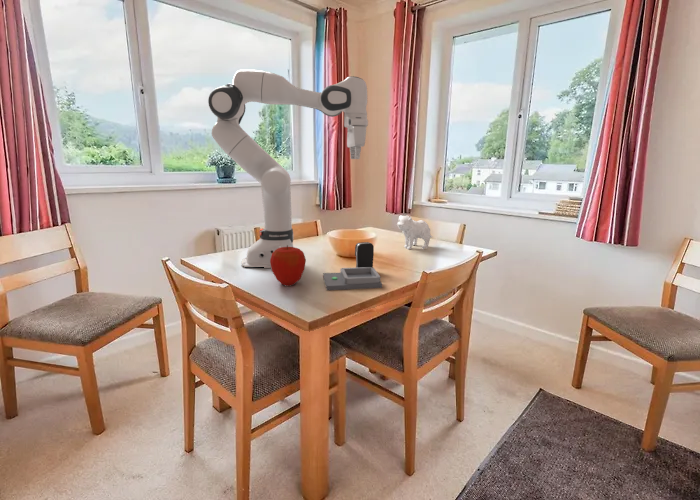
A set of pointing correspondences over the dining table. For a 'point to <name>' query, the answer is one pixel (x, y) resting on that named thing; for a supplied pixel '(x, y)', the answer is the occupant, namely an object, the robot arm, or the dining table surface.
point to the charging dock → (353, 279)
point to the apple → (288, 264)
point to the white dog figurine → (414, 231)
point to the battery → (364, 254)
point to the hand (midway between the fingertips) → (355, 159)
